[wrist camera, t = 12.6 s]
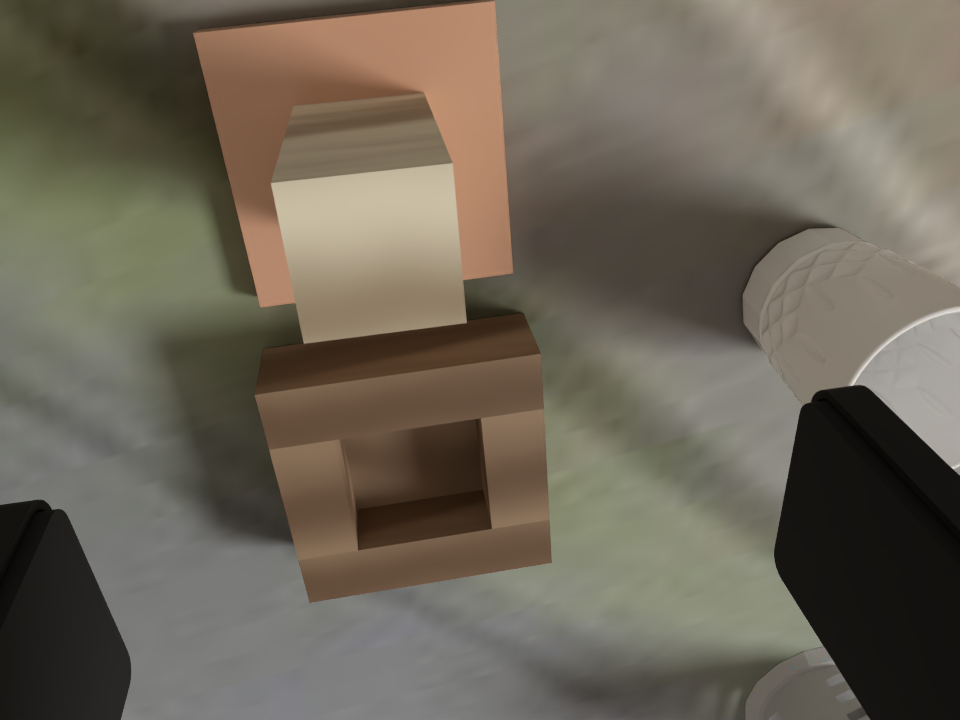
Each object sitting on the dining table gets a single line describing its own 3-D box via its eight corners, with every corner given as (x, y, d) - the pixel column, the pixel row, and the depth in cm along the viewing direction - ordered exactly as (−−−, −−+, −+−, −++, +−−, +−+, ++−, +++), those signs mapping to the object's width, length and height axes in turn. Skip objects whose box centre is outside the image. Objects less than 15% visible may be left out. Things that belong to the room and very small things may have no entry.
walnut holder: (263, 348, 36) (254, 394, 33) (523, 312, 37) (540, 353, 34) (312, 546, 42) (309, 602, 39) (535, 510, 43) (551, 562, 40)
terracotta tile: (197, 29, 30) (193, 33, 29) (490, -2, 30) (494, 1, 30) (262, 297, 35) (260, 307, 34) (509, 264, 36) (513, 273, 35)
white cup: (794, 387, 42) (910, 512, 33) (696, 308, 38) (796, 422, 30) (914, 275, 39) (1073, 377, 31) (820, 180, 36) (968, 264, 27)
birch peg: (293, 105, 30) (270, 182, 22) (424, 92, 31) (452, 163, 22) (316, 230, 33) (304, 343, 24) (436, 216, 33) (467, 323, 25)
